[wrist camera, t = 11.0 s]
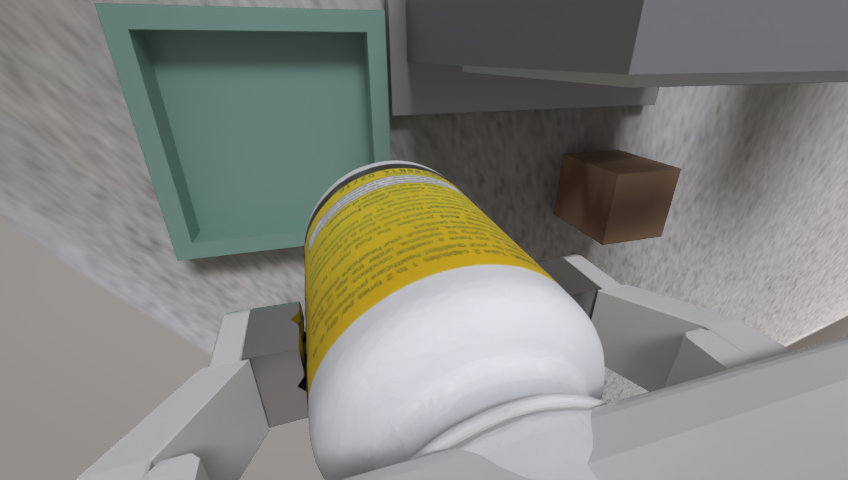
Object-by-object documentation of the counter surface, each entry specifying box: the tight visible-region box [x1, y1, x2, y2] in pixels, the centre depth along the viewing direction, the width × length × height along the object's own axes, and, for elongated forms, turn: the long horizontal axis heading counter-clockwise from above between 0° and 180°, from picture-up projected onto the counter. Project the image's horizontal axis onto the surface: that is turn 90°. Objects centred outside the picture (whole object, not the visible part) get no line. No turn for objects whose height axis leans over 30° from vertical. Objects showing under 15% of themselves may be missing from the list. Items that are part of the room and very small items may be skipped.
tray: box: [95, 3, 391, 261], centre depth 22 cm, size 13×13×2 cm
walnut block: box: [554, 150, 681, 245], centre depth 29 cm, size 5×5×6 cm
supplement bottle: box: [304, 161, 607, 480], centre depth 8 cm, size 5×5×10 cm
